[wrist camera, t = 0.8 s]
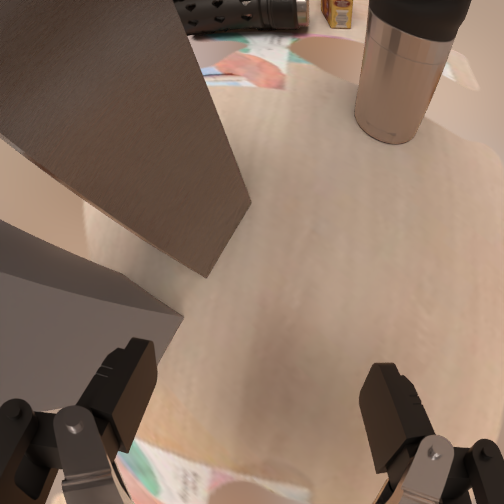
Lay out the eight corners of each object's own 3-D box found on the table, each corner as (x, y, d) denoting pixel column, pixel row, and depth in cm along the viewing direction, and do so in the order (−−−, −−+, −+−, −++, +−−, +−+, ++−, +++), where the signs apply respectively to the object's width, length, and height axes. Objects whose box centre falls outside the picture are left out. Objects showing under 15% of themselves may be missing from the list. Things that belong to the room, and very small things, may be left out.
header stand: (184, 173, 37) (32, -53, 5) (251, 202, 34) (122, -114, 3) (142, 239, 35) (-87, 62, 4) (206, 278, 33) (-98, 43, 1)
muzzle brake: (179, 27, 49) (164, -8, 39) (310, 19, 44) (307, -23, 34) (163, 50, 47) (145, 13, 37) (308, 42, 41) (305, -5, 32)
